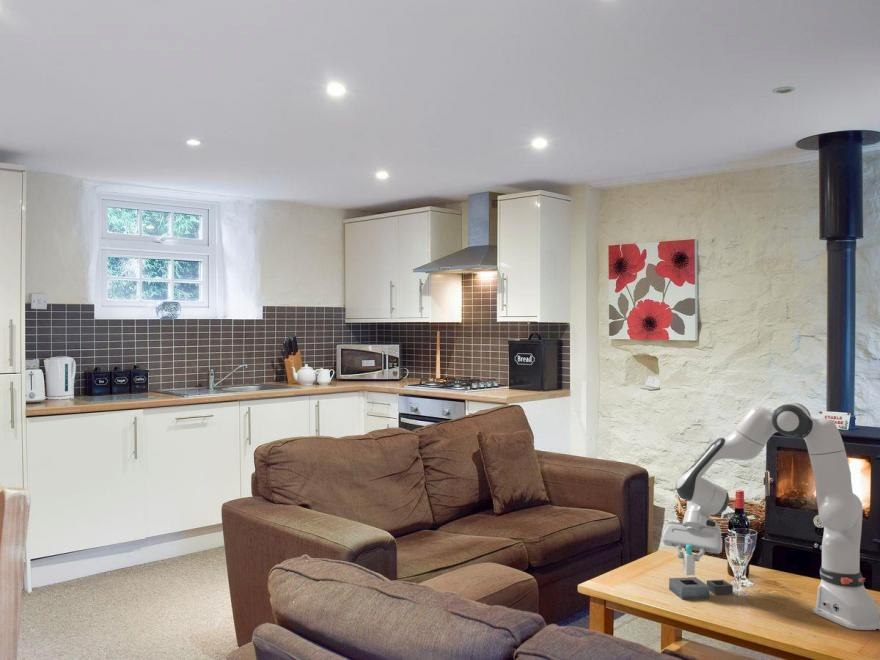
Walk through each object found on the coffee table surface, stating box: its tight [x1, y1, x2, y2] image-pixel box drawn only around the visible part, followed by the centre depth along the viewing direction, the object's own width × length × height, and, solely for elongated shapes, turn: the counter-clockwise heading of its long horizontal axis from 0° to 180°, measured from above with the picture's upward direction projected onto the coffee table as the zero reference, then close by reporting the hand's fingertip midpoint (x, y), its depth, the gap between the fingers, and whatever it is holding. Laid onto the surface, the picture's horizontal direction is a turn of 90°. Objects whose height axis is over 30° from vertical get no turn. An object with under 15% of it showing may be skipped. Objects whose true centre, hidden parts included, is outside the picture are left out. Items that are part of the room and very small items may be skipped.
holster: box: [706, 579, 734, 596], centre depth 267 cm, size 6×6×3 cm
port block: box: [668, 576, 710, 600], centre depth 264 cm, size 10×10×4 cm
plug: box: [682, 545, 696, 576], centre depth 264 cm, size 3×3×10 cm
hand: (688, 558), depth 264 cm, fingers closed on plug, 4 cm apart
